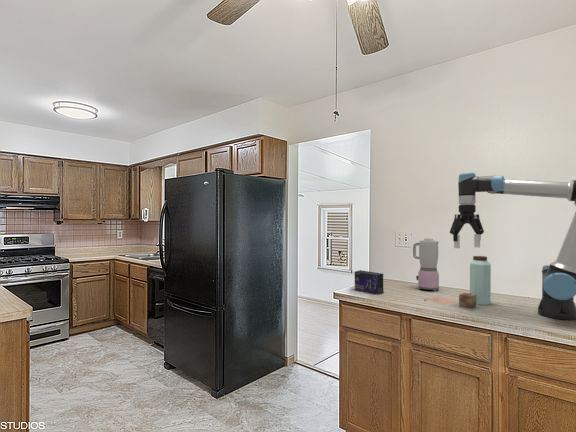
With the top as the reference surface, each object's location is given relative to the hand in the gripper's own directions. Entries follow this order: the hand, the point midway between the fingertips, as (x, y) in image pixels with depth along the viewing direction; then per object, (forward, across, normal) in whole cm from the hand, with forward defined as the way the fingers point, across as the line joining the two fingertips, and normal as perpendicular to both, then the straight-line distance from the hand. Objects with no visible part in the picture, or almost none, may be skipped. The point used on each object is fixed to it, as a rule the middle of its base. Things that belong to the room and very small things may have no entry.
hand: (467, 247), depth 174 cm
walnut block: (+30, -3, -3) cm, 30 cm away
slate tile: (+30, -3, -3) cm, 31 cm away
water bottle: (+31, -16, -6) cm, 35 cm away
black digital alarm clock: (+30, +20, -54) cm, 65 cm away
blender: (+30, -18, -46) cm, 58 cm away
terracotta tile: (+30, -2, -18) cm, 35 cm away
